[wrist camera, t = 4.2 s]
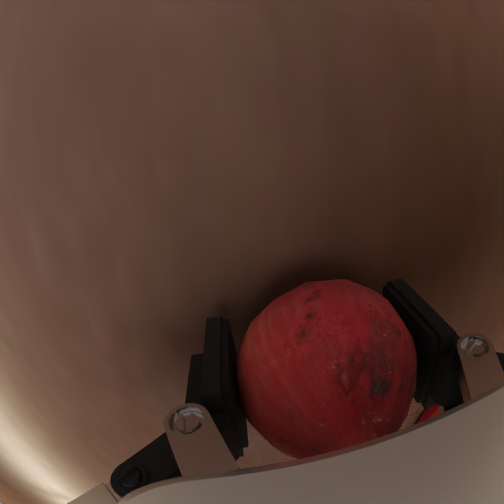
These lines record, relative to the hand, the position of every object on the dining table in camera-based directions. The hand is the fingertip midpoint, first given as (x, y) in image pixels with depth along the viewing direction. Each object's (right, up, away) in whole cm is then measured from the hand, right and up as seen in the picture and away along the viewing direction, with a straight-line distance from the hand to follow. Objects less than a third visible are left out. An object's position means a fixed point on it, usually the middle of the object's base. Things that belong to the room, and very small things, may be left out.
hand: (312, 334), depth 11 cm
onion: (0, +1, +2) cm, 2 cm away
